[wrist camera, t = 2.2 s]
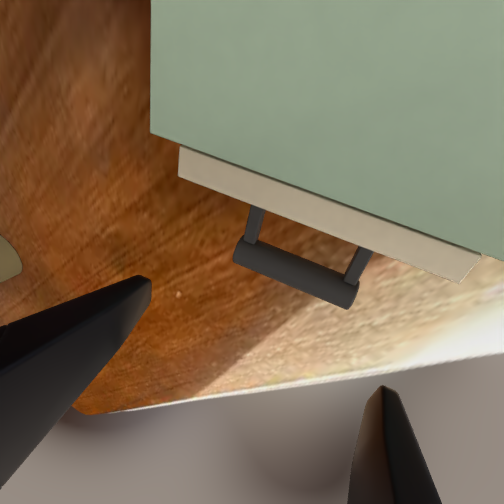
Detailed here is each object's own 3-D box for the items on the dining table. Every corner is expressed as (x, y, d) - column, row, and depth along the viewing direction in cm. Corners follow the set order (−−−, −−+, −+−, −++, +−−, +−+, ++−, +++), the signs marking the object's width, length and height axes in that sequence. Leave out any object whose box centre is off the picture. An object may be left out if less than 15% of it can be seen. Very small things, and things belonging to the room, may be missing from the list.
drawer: (395, 271, 19) (390, 368, 14) (232, 207, 21) (171, 272, 16) (738, -267, 8) (1394, -845, 3) (328, -305, 10) (232, -696, 4)
